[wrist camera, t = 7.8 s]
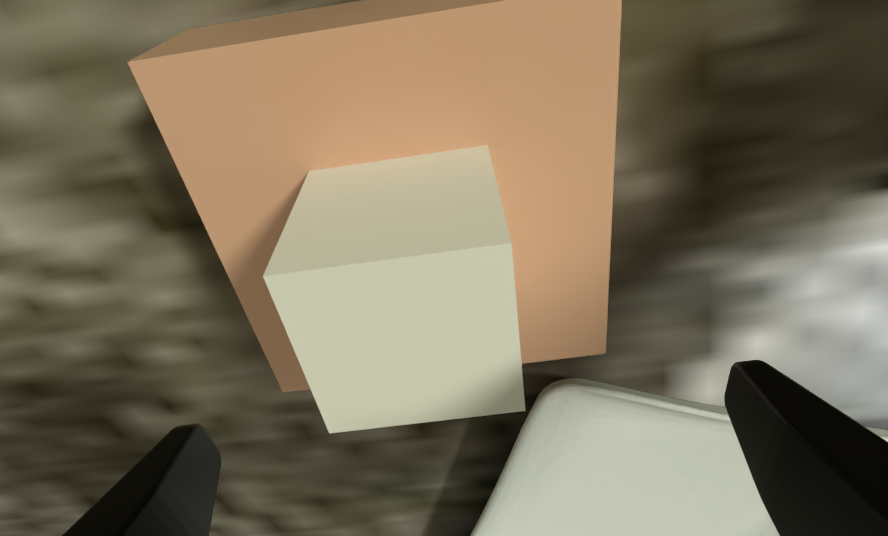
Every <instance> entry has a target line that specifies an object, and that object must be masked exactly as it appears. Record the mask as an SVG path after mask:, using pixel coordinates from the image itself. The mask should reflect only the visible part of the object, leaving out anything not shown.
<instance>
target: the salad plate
mask: <svg viewBox="0 0 888 536" xmlns="http://www.w3.org/2000/svg"><path fill="white" fill-rule="evenodd" d="M866 428H867V429H869V430H870V431H872V432H873V433H875V434H877V435H878V436H880V437H881V438H883V439H884V440H886V441H887V442H888V430H883V429H876V428H869V427H866ZM470 536H780V535H779V534H778V532H777V530H776V528H775V526H774V524H773V522H772V520H771V518H770V516H769V514H768V512H767V510H766V508H765V506H764V504H763V502H762V500H761V497H760V495H759V493H758V490H757V488H756V485H755V483H754V480H753V478H752V475H751V473H750V470H749V467H748V465H747V462H746V460H745V457H744V454H743V452H742V449H741V447H740V444H739V441H738V439H737V436H736V434H735V431H734V428H733V426H732V423H731V421H730V418H729V415H728V413H727V410H726V408H724V407H719V406H713V405H707V404H702V403H696V402H690V401H685V400H680V399H676V398H671V397H666V396H661V395H656V394H651V393H646V392H641V391H637V390H633V389H628V388H624V387H619V386H615V385H611V384H606V383H602V382H597V381H593V380H587V379H581V378H569V379H562V380H558V381H556V382H553V383H551V384H550V385H548V386H547V387H545V388H544V389H543V390H542V391H541V393H540V394H539V396H538V397H537V399H536V401H535V403H534V405H533V407H532V409H531V410H530V412H529V414H528V416H527V418H526V420H525V422H524V424H523V426H522V428H521V430H520V432H519V435H518V437H517V439H516V441H515V444H514V446H513V448H512V451H511V453H510V455H509V457H508V460H507V462H506V464H505V466H504V469H503V471H502V473H501V475H500V478H499V480H498V482H497V484H496V486H495V488H494V490H493V492H492V494H491V496H490V498H489V500H488V502H487V504H486V506H485V508H484V510H483V512H482V514H481V516H480V518H479V520H478V522H477V524H476V526H475V528H474V529H473V531H472V533H471V535H470Z"/></svg>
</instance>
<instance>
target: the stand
mask: <svg viewBox="0 0 888 536" xmlns="http://www.w3.org/2000/svg"><path fill="white" fill-rule="evenodd" d="M621 7H622V0H361V1H355V2H349V3H343V4H337V5H331V6H325V7H319V8H313V9H307V10H301V11H295V12H289V13H283V14H277V15H270V16H264V17H258V18H252V19H246V20H240V21H234V22H228V23H222V24H216V25H210V26H204V27H198V28H192V29H188V30H186V31H184V32H182V33H180V34H178V35H176V36H175V37H173V38H171V39H169V40H167V41H165V42H163V43H162V44H160V45H158V46H156V47H154V48H152V49H151V50H149V51H147V52H145V53H143V54H141V55H139V56H138V57H136V58H134V59H132V60H130V61H128V64H129V66H130V68H131V71H132V73H133V75H134V77H135V79H136V81H137V83H138V85H139V88H140V90H141V92H142V94H143V96H144V98H145V100H146V102H147V105H148V107H149V109H150V111H151V113H152V115H153V117H154V119H155V122H156V124H157V126H158V128H159V130H160V132H161V134H162V136H163V139H164V141H165V143H166V145H167V147H168V149H169V151H170V153H171V156H172V158H173V160H174V162H175V164H176V166H177V168H178V170H179V173H180V175H181V177H182V179H183V181H184V183H185V185H186V188H187V190H188V192H189V194H190V196H191V198H192V200H193V202H194V205H195V207H196V209H197V211H198V213H199V215H200V217H201V219H202V222H203V224H204V226H205V228H206V230H207V232H208V234H209V236H210V239H211V241H212V243H213V245H214V247H215V249H216V251H217V253H218V256H219V258H220V260H221V262H222V264H223V266H224V268H225V270H226V273H227V275H228V277H229V279H230V281H231V283H232V285H233V287H234V290H235V292H236V294H237V296H238V298H239V300H240V302H241V305H242V307H243V309H244V311H245V313H246V315H247V317H248V319H249V322H250V324H251V326H252V328H253V330H254V332H255V334H256V336H257V339H258V341H259V343H260V345H261V347H262V349H263V351H264V353H265V356H266V358H267V360H268V362H269V364H270V366H271V368H272V370H273V373H274V375H275V377H276V379H277V381H278V383H279V385H280V387H281V390H282V392H292V391H300V390H308V389H310V387H309V384H308V382H307V379H306V377H305V375H304V372H303V370H302V368H301V365H300V363H299V361H298V358H297V356H296V353H295V351H294V349H293V346H292V344H291V342H290V339H289V337H288V335H287V332H286V330H285V327H284V325H283V323H282V320H281V318H280V316H279V313H278V311H277V308H276V306H275V304H274V301H273V299H272V297H271V294H270V292H269V290H268V287H267V285H266V282H265V280H264V278H263V275H264V273H265V270H266V268H267V266H268V264H269V261H270V259H271V257H272V254H273V252H274V250H275V248H276V245H277V243H278V241H279V238H280V236H281V234H282V232H283V229H284V227H285V225H286V222H287V220H288V218H289V216H290V213H291V211H292V209H293V206H294V204H295V202H296V200H297V197H298V195H299V193H300V190H301V188H302V186H303V183H304V181H305V179H306V177H307V174H308V172H309V171H313V170H320V169H327V168H334V167H341V166H347V165H354V164H361V163H368V162H375V161H382V160H388V159H395V158H402V157H409V156H416V155H423V154H430V153H436V152H443V151H450V150H457V149H464V148H471V147H477V146H484V145H488V149H489V153H490V157H491V161H492V165H493V169H494V173H495V177H496V181H497V185H498V189H499V194H500V198H501V202H502V206H503V210H504V214H505V218H506V222H507V226H508V230H509V234H510V238H511V242H512V254H513V266H514V278H515V290H516V302H517V314H518V326H519V339H520V351H521V363H522V364H524V363H532V362H540V361H548V360H557V359H565V358H573V357H582V356H590V355H598V354H606V337H607V315H608V293H609V271H610V249H611V227H612V205H613V183H614V161H615V139H616V117H617V95H618V73H619V51H620V29H621Z"/></svg>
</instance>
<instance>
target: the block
mask: <svg viewBox="0 0 888 536" xmlns="http://www.w3.org/2000/svg"><path fill="white" fill-rule="evenodd" d="M263 278H264V280H265V282H266V285H267V287H268V290H269V292H270V294H271V297H272V299H273V301H274V304H275V306H276V308H277V311H278V313H279V316H280V318H281V320H282V323H283V325H284V327H285V330H286V332H287V335H288V337H289V339H290V342H291V344H292V346H293V349H294V351H295V353H296V356H297V358H298V361H299V363H300V365H301V368H302V370H303V372H304V375H305V377H306V379H307V382H308V384H309V387H310V389H311V391H312V394H313V396H314V398H315V401H316V403H317V405H318V408H319V410H320V413H321V415H322V417H323V420H324V422H325V424H326V427H327V429H328V432H329V433H338V432H346V431H355V430H364V429H372V428H381V427H390V426H399V425H407V424H416V423H425V422H433V421H442V420H451V419H460V418H468V417H477V416H486V415H494V414H503V413H512V412H520V411H525V399H524V387H523V375H522V363H521V351H520V339H519V326H518V314H517V302H516V290H515V278H514V266H513V254H512V242H511V238H510V234H509V230H508V226H507V222H506V218H505V214H504V210H503V206H502V202H501V198H500V194H499V189H498V185H497V181H496V177H495V173H494V169H493V165H492V161H491V157H490V153H489V149H488V145H484V146H477V147H471V148H464V149H457V150H450V151H443V152H436V153H430V154H423V155H416V156H409V157H402V158H395V159H388V160H382V161H375V162H368V163H361V164H354V165H347V166H341V167H334V168H327V169H320V170H313V171H309V172H308V174H307V177H306V179H305V181H304V183H303V186H302V188H301V190H300V193H299V195H298V197H297V200H296V202H295V204H294V206H293V209H292V211H291V213H290V216H289V218H288V220H287V222H286V225H285V227H284V229H283V232H282V234H281V236H280V238H279V241H278V243H277V245H276V248H275V250H274V252H273V254H272V257H271V259H270V261H269V264H268V266H267V268H266V270H265V273H264V275H263Z"/></svg>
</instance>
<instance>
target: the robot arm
mask: <svg viewBox="0 0 888 536" xmlns="http://www.w3.org/2000/svg"><path fill="white" fill-rule="evenodd" d="M724 399H725V406H726V410H727V413H728V415H729V418H730V421H731V423H732V426H733V428H734V431H735V434H736V436H737V439H738V441H739V444H740V447H741V449H742V452H743V454H744V457H745V460H746V462H747V465H748V467H749V470H750V473H751V475H752V478H753V480H754V483H755V485H756V488H757V490H758V493H759V495H760V497H761V500H762V502H763V504H764V506H765V508H766V510H767V512H768V514H769V516H770V518H771V520H772V522H773V524H774V526H775V528H776V530H777V532H778V534H779V535H780V536H888V442H887V441H886V440H884V439H883V438H881V437H880V436H878V435H877V434H875V433H873V432H872V431H870V430H869V429H867V428H866V427H864V426H863V425H861V424H860V423H858V422H856V421H855V420H853V419H852V418H850V417H849V416H847V415H846V414H844V413H843V412H841V411H840V410H838V409H836V408H835V407H833V406H832V405H830V404H829V403H827V402H826V401H824V400H823V399H821V398H819V397H818V396H816V395H815V394H813V393H812V392H810V391H809V390H807V389H806V388H804V387H803V386H801V385H799V384H798V383H796V382H795V381H793V380H792V379H790V378H789V377H787V376H786V375H784V374H783V373H781V372H779V371H778V370H776V369H775V368H773V367H772V366H770V365H769V364H767V363H765V362H763V361H760V360H751V361H743V362H736V363H734V364H733V366H732V367H731V370H730V374H729V379H728V383H727V387H726V391H725V397H724ZM220 467H221V456H220V453H219V450H218V448H217V447H216V445H215V444H214V442H213V441H212V439H211V438H210V436H209V434H208V433H207V431H206V430H205V428H204V427H203V426H202V425H200V424H190V425H182V426H178V427H175V428H174V429H172V430H171V431H170V432H169V433H168V434H167V435H166V436H165V437H164V438H163V439H162V440H161V441H160V442H159V443H158V444H157V445H156V446H155V447H154V448H153V449H151V450H150V451H149V452H148V453H147V454H146V455H145V456H144V457H143V458H142V459H141V460H140V461H139V462H138V463H137V464H136V465H135V466H134V467H133V468H132V469H131V470H130V471H129V472H128V473H127V474H126V475H125V476H124V477H122V478H121V479H120V480H119V481H118V482H117V483H116V484H115V485H114V486H113V487H112V488H111V489H110V490H109V491H108V492H107V493H106V494H105V495H104V496H103V497H102V498H101V499H100V500H99V501H98V502H97V503H96V504H95V505H93V506H92V507H91V508H90V509H89V510H88V511H87V512H86V513H85V514H84V515H83V516H82V517H81V518H80V519H79V520H78V521H77V522H76V523H75V524H74V525H73V526H72V527H71V528H70V529H69V530H68V531H67V532H66V533H64V534H63V535H62V536H209V531H210V525H211V519H212V514H213V508H214V502H215V496H216V490H217V484H218V478H219V473H220Z"/></svg>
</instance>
